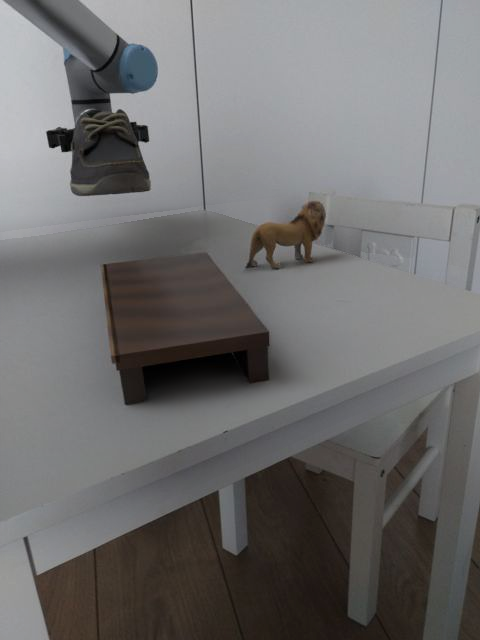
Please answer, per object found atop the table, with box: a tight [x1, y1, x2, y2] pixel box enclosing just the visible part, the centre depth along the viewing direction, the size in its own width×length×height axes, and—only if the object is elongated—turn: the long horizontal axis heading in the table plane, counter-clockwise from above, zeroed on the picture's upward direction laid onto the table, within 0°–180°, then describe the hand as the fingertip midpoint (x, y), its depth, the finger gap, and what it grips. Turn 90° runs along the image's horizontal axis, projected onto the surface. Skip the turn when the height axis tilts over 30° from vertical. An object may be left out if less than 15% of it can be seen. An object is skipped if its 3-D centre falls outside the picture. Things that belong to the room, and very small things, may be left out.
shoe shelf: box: [100, 251, 271, 405], centre depth 65 cm, size 30×14×5 cm, turn 16°
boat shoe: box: [69, 108, 152, 197], centre depth 82 cm, size 11×29×11 cm, turn 24°
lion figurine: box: [244, 200, 327, 269], centre depth 88 cm, size 15×5×9 cm, turn 122°
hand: (100, 139), depth 86 cm, fingers closed on boat shoe, 9 cm apart
